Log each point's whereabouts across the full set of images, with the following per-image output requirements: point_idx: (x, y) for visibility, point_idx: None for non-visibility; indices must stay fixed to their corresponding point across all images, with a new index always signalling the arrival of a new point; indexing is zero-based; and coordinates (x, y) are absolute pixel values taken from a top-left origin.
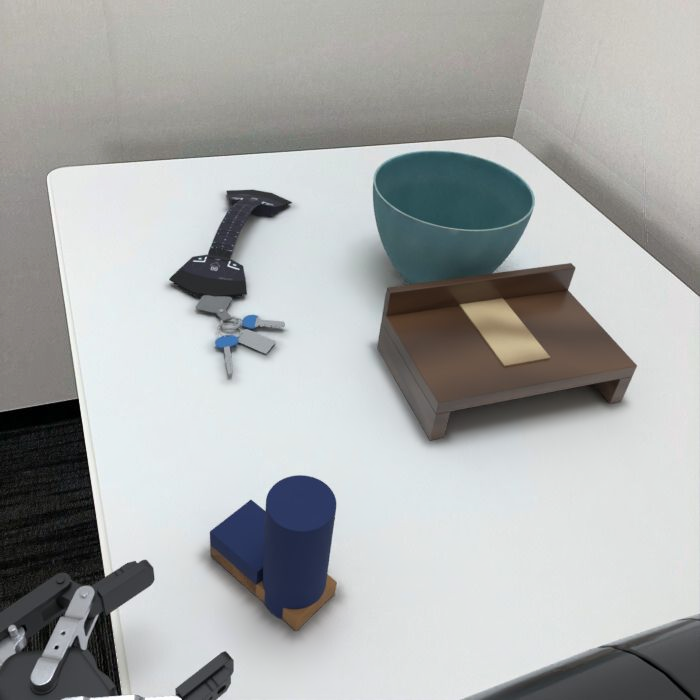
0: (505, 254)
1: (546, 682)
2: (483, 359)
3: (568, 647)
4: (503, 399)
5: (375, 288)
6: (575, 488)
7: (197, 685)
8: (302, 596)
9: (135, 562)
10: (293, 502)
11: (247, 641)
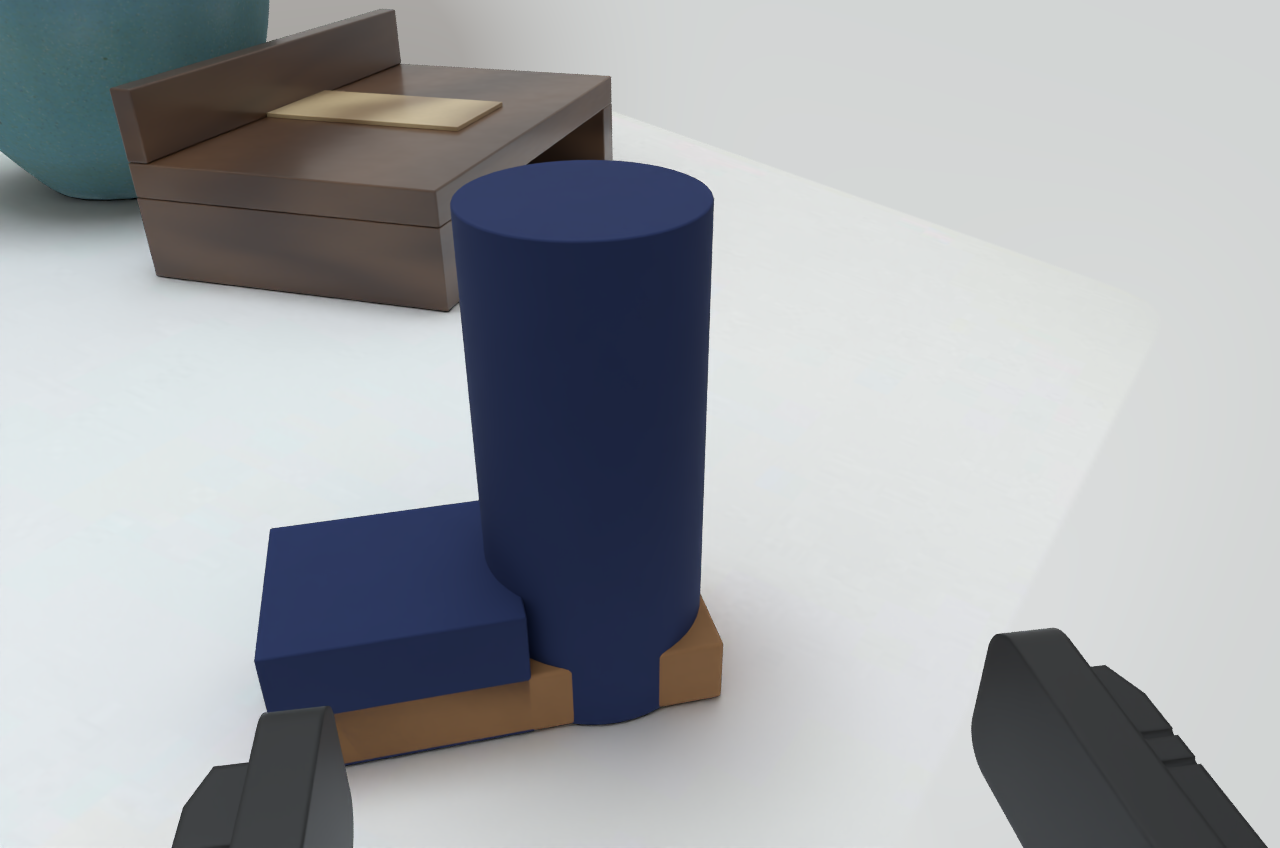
0: (265, 29)
1: None
2: (412, 137)
3: (1024, 363)
4: None
5: (33, 227)
6: (719, 244)
7: (1175, 786)
8: (695, 563)
9: (223, 771)
10: (566, 203)
11: (667, 827)
